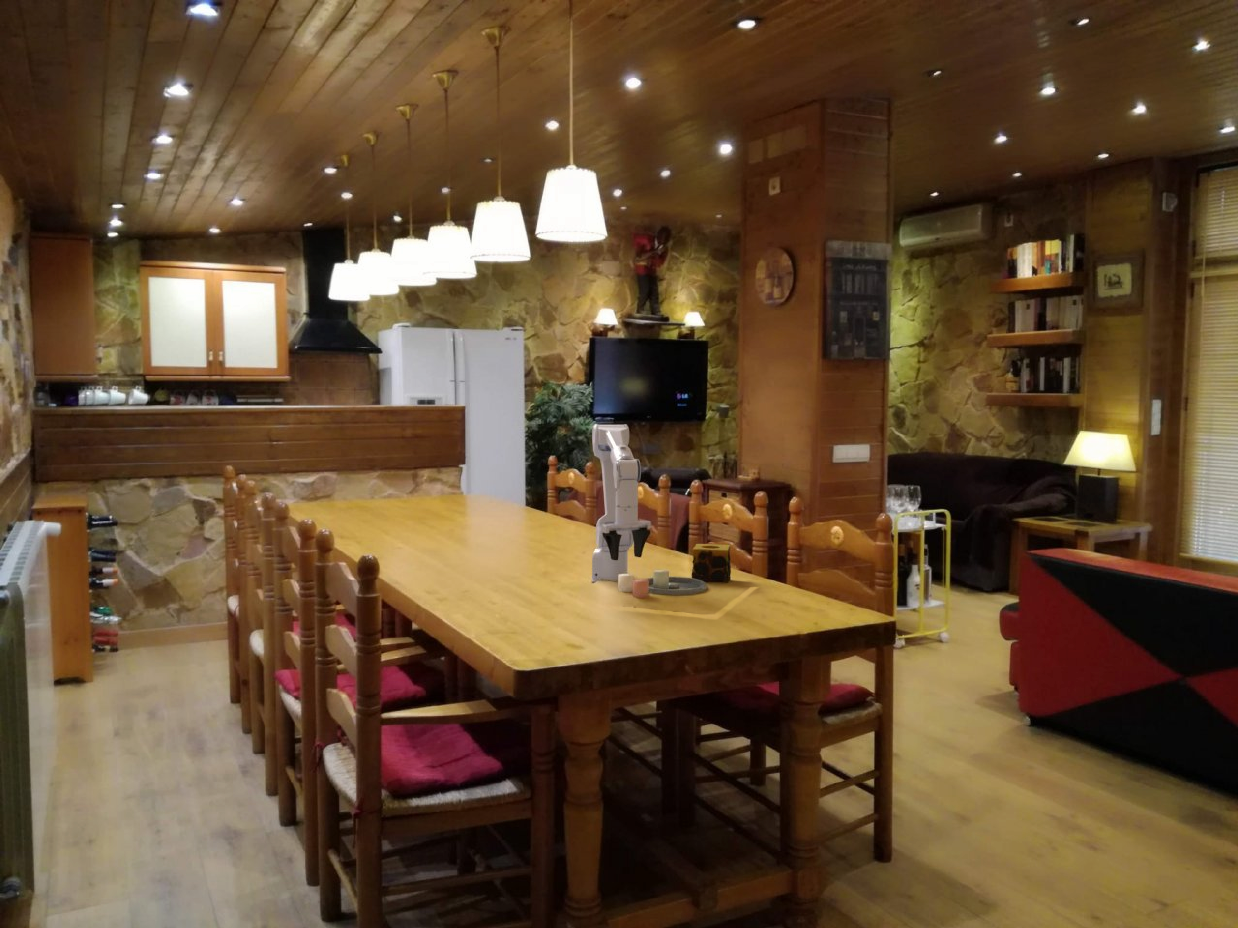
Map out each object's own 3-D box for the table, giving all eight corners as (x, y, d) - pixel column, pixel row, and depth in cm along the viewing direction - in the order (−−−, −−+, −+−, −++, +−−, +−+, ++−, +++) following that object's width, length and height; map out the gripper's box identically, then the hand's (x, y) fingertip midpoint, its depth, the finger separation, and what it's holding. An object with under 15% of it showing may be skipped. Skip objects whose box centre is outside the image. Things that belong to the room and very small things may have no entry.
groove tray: (629, 594, 245) (629, 586, 245) (652, 582, 262) (652, 574, 261) (694, 601, 239) (694, 592, 239) (713, 587, 255) (713, 579, 255)
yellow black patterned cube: (728, 587, 257) (728, 550, 256) (691, 585, 259) (691, 549, 258) (731, 579, 267) (732, 544, 266) (695, 578, 269) (696, 543, 268)
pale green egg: (651, 591, 245) (651, 572, 245) (656, 588, 249) (656, 569, 249) (665, 592, 244) (666, 573, 244) (670, 589, 248) (671, 570, 247)
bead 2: (630, 601, 239) (630, 581, 238) (636, 597, 242) (636, 578, 242) (645, 602, 237) (645, 582, 237) (650, 599, 241) (651, 579, 240)
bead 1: (615, 595, 245) (616, 575, 245) (621, 592, 249) (621, 573, 249) (630, 596, 244) (630, 577, 244) (635, 593, 248) (636, 574, 247)
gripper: (613, 509, 237) (613, 563, 238) (658, 505, 246) (657, 557, 247) (597, 506, 243) (596, 559, 244) (641, 503, 252) (641, 553, 253)
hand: (626, 558), depth 246 cm, fingers open, 7 cm apart
